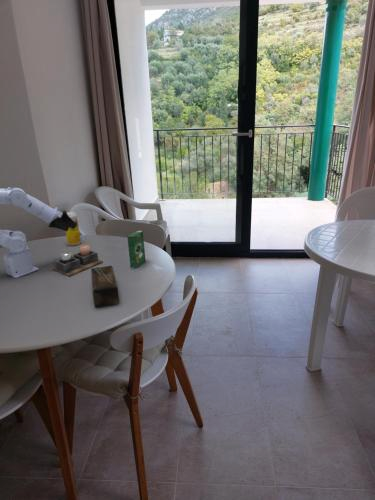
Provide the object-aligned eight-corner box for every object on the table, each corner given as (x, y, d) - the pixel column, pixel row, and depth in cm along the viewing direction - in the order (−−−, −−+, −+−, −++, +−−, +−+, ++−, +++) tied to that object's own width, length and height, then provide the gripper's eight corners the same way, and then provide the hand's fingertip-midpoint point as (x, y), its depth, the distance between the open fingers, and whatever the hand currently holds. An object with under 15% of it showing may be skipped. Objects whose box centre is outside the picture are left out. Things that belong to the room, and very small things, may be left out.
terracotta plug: (84, 257, 136) (82, 249, 135) (78, 255, 139) (77, 247, 137) (92, 254, 139) (91, 246, 138) (86, 252, 142) (85, 244, 140)
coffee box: (140, 259, 140) (137, 229, 136) (146, 260, 139) (143, 230, 135) (130, 267, 134) (126, 236, 129) (136, 268, 133) (132, 236, 128)
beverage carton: (115, 279, 125) (112, 263, 122) (120, 304, 108) (117, 286, 105) (92, 283, 123) (90, 266, 120) (94, 309, 106) (91, 290, 103)
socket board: (69, 277, 128) (67, 267, 127) (52, 269, 135) (50, 260, 134) (103, 262, 139) (101, 253, 138) (85, 256, 147) (84, 247, 145)
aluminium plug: (65, 264, 130) (64, 256, 129) (60, 262, 133) (58, 254, 131) (74, 261, 133) (73, 252, 132) (68, 258, 136) (67, 250, 134)
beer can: (78, 245, 160) (73, 215, 154) (66, 246, 160) (60, 215, 154) (82, 241, 165) (77, 211, 160) (70, 241, 165) (65, 212, 160)
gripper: (51, 197, 126) (83, 216, 134) (39, 204, 137) (69, 222, 145) (42, 213, 124) (75, 231, 131) (31, 219, 135) (62, 236, 142)
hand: (71, 227), depth 138 cm, fingers open, 7 cm apart
